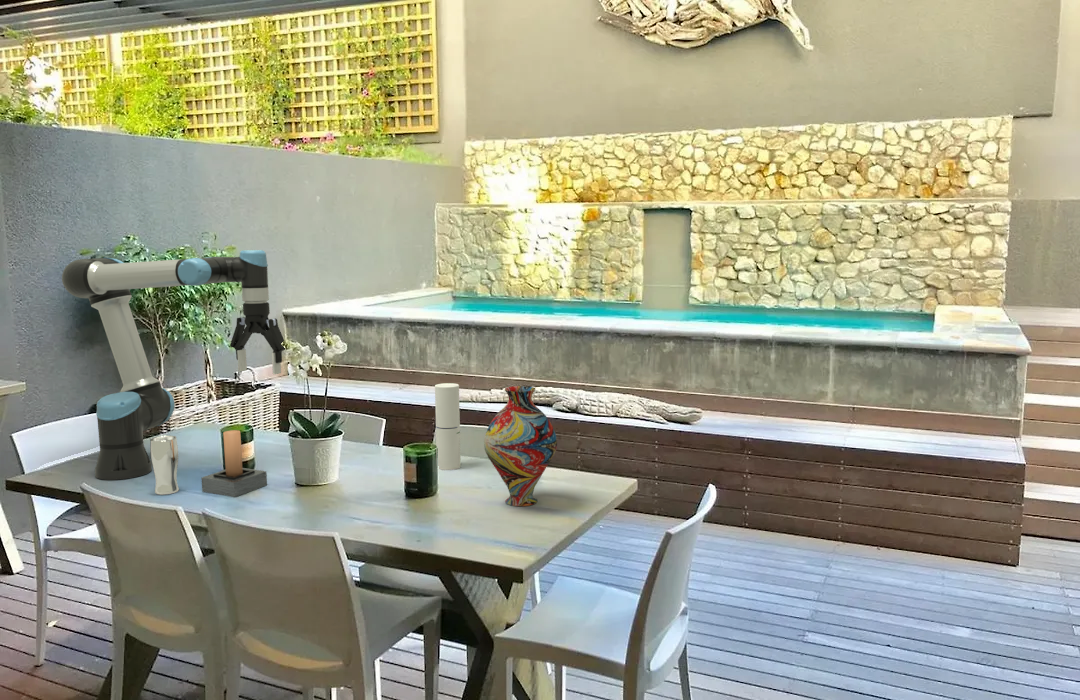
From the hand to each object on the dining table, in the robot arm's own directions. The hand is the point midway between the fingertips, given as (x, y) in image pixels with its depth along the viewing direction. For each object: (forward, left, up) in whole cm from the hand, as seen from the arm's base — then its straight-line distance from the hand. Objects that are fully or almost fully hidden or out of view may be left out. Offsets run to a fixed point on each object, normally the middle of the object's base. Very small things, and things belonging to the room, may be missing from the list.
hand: (259, 372), depth 255 cm
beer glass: (-5, -32, -29) cm, 43 cm away
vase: (+88, 0, -29) cm, 93 cm away
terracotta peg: (+10, -22, -29) cm, 37 cm away
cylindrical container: (+53, +21, -29) cm, 64 cm away
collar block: (+10, -22, -29) cm, 38 cm away
